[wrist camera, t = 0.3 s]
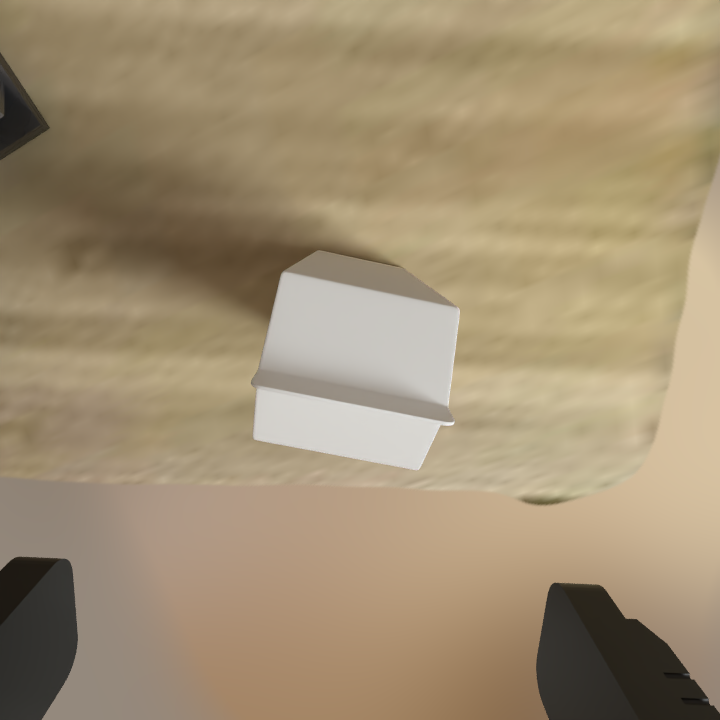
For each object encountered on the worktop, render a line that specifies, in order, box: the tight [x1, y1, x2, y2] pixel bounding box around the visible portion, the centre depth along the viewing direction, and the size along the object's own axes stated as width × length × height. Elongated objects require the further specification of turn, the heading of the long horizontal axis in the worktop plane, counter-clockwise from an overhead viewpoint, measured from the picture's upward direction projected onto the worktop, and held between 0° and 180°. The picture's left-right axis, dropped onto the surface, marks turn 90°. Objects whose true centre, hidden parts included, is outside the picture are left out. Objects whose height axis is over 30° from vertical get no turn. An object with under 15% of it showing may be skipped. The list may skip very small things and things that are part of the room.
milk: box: [251, 250, 460, 470], centre depth 26 cm, size 6×6×22 cm
